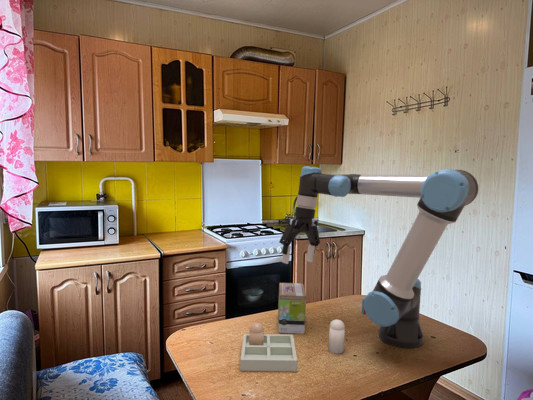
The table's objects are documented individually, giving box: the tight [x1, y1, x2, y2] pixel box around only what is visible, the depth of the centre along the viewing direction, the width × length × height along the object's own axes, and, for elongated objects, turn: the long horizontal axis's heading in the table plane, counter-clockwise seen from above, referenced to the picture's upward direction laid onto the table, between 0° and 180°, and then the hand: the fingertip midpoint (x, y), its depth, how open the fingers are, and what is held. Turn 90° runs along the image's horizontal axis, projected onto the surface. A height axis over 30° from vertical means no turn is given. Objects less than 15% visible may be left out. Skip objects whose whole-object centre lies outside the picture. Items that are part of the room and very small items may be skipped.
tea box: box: [277, 282, 307, 335], centre depth 144 cm, size 15×10×15 cm, turn 179°
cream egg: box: [328, 319, 346, 355], centre depth 125 cm, size 5×5×10 cm
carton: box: [240, 322, 298, 373], centre depth 120 cm, size 17×17×9 cm
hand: (297, 262), depth 142 cm, fingers open, 13 cm apart
